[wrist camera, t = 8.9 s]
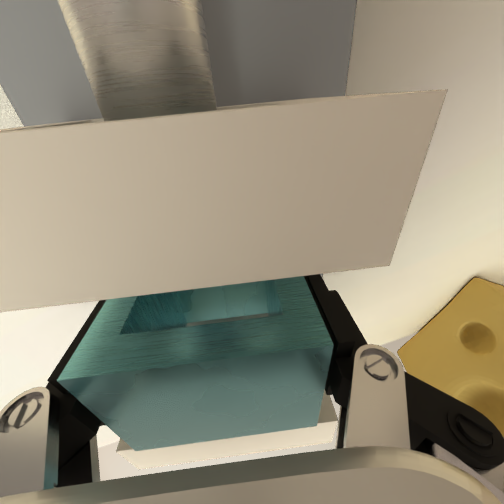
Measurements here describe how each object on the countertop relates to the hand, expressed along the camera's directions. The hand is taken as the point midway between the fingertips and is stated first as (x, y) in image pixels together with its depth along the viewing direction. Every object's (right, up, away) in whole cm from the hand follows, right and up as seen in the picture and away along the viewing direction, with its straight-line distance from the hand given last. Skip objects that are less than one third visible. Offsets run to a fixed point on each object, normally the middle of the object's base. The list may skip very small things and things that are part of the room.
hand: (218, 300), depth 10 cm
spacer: (0, +1, +2) cm, 3 cm away
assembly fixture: (0, +3, +3) cm, 4 cm away
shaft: (-1, +11, -7) cm, 13 cm away
